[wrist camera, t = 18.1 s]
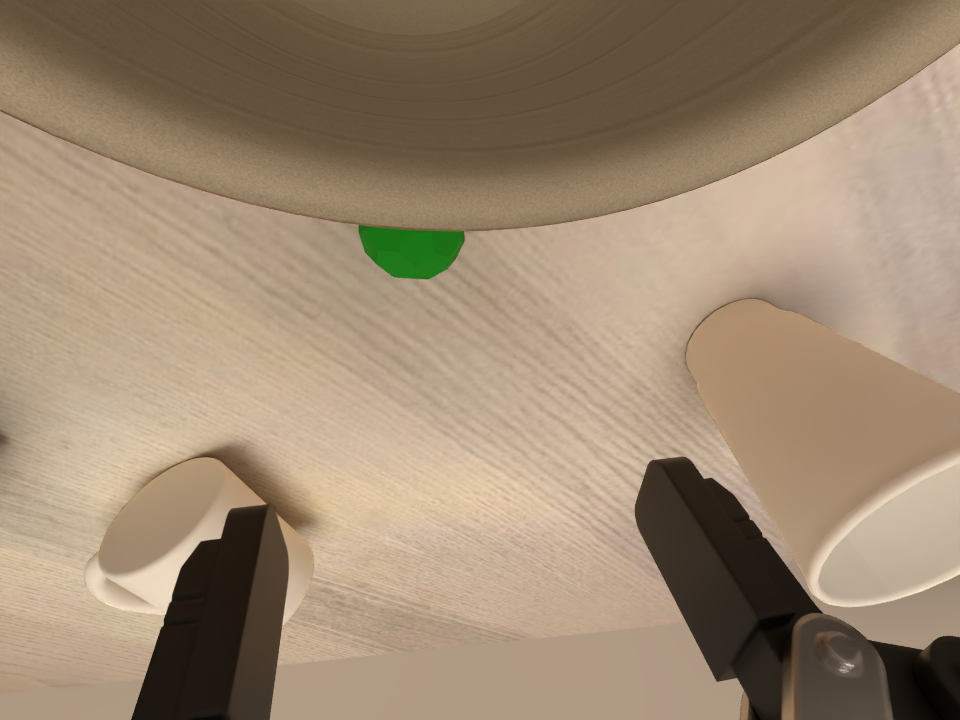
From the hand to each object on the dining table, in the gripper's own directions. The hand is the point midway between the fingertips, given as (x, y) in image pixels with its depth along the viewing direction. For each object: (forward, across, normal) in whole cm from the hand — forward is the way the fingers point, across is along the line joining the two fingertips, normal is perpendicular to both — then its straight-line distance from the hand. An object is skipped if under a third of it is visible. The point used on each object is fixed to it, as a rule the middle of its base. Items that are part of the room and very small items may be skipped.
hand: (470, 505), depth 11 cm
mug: (+19, +15, +21) cm, 32 cm away
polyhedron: (+19, 0, 0) cm, 19 cm away
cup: (+19, -22, +10) cm, 31 cm away
